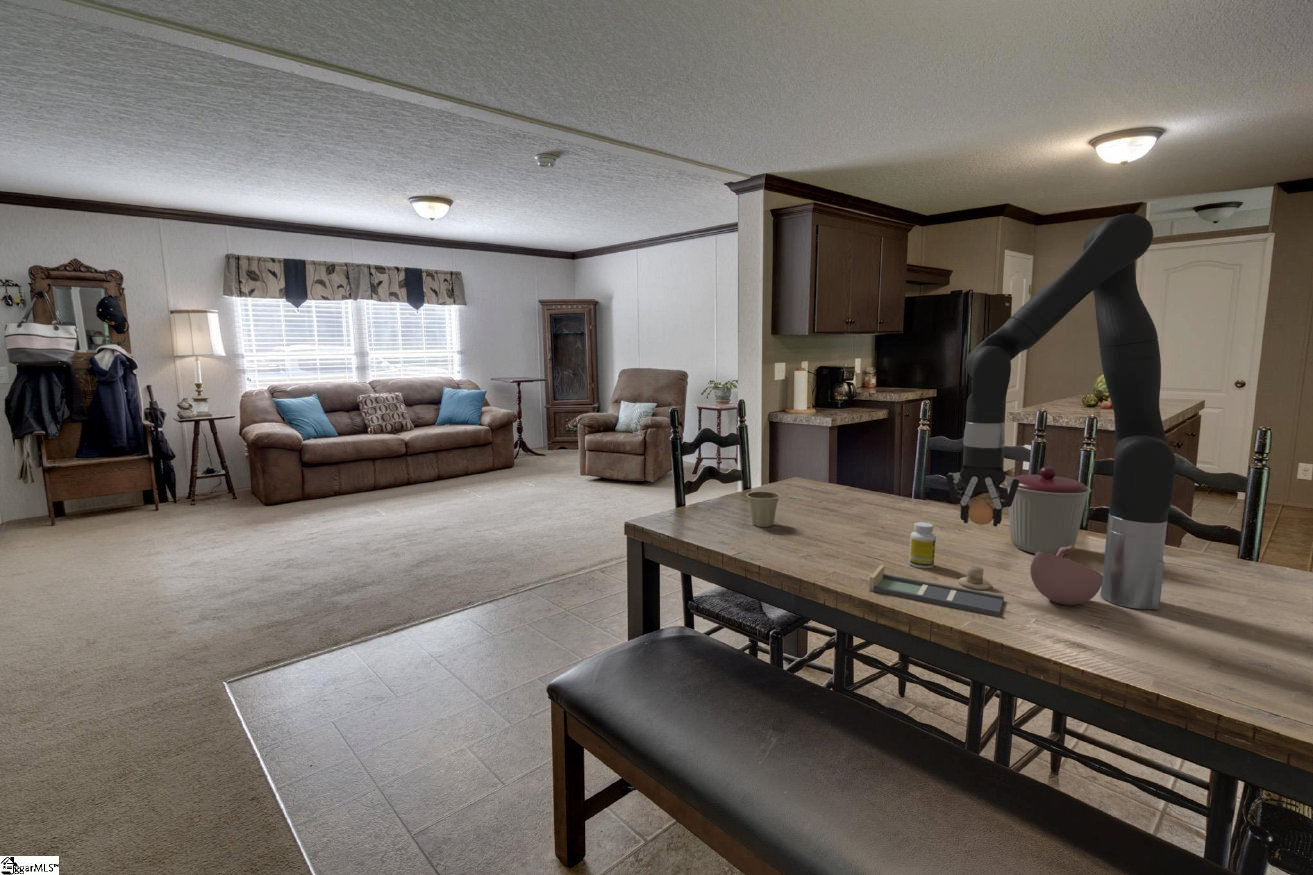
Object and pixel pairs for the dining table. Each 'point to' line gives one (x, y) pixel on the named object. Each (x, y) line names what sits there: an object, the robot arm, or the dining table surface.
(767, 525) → the flower pot
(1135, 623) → the dining table surface
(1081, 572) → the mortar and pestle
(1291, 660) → the dining table surface
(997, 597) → the lane
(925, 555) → the supplement bottle
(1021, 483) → the canister
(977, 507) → the ball
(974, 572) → the beige brimmed cylinder
